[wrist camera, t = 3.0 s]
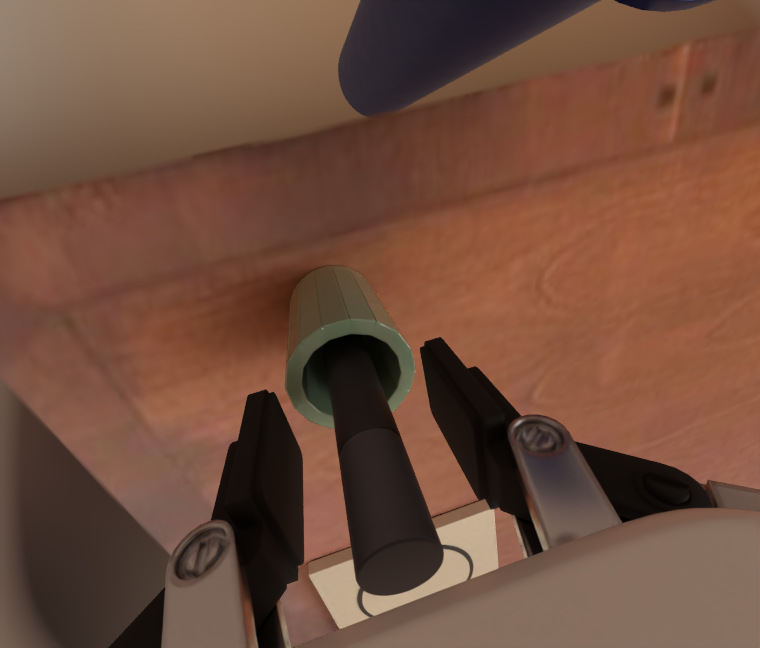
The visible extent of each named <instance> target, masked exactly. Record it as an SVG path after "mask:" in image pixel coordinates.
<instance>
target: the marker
mask: <svg viewBox="0 0 760 648" xmlns="http://www.w3.org/2000/svg"><path fill="white" fill-rule="evenodd" d="M323 348H324V355H325V362H326V370H327V377H328V384H329V391H330V398H331V406H332V413H333V420H334V427H335V434H336V441H337V449H338V456H339V463H340V470H341V477H342V485H343V492H344V499H345V506H346V513H347V520H348V528H349V535H350V542H351V549H352V556H353V564H354V571H355V578H356V582H357V584H358V585H359V587H360V588H361V589H362V590H363V591H365V592H366V593H369V594H372V595H377V596H389V595H396V594H400V593H404V592H407V591H410V590H412V589H414V588H416V587H418V586H420V585H422V584H423V583H425V582H426V581H428V580H429V579H430V578H431V577H433V576H434V575H435V574H436V572H437V571H438V570H439V568H440V567H441V565H442V563H443V559H444V550H443V547H442V544H441V541H440V539H439V536H438V534H437V531H436V528H435V526H434V523H433V520H432V518H431V515H430V512H429V510H428V507H427V505H426V502H425V499H424V497H423V494H422V491H421V489H420V486H419V483H418V481H417V478H416V476H415V473H414V470H413V468H412V465H411V462H410V460H409V457H408V454H407V452H406V449H405V446H404V444H403V441H402V439H401V436H400V433H399V431H398V428H397V425H396V423H395V420H394V417H393V415H392V412H391V410H390V407H389V404H388V402H387V399H386V396H385V394H384V391H383V388H382V386H381V383H380V381H379V378H378V375H377V373H376V370H375V367H374V365H373V362H372V359H371V357H370V354H369V352H368V349H367V346H366V344H365V341H364V338H363V336H362V335H360V334H349V335H345V336H342V337H338V338H335V339H332V340H329V341H327V342H326V343H325V344H323Z"/></svg>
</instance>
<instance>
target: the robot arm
mask: <svg viewBox="0 0 760 648" xmlns="http://www.w3.org/2000/svg"><path fill="white" fill-rule="evenodd" d="M420 353H421V358H422V364H423V370H424V375H425V381H426V386H427V392H428V398H429V403H430V408H431V412H432V414H433V417H434V419H435V420H436V422H437V424H438V426H439V428H440V430H441V432H442V433H443V435H444V437H445V439H446V441H447V443H448V445H449V446H450V448H451V450H452V452H453V454H454V456H455V458H456V459H457V461H458V463H459V465H460V467H461V469H462V470H463V472H464V474H465V476H466V478H467V480H468V482H469V483H470V485H471V487H472V489H473V491H474V493H475V495H476V496H477V498H478V499H479V500H483V499H485V500H486V502H487V504H488V506H489V507H490V509H491V510H492V509H495V508H498V507H499V508H500V509H501V511H504V512H506V513H509V514H511V516H512V519H513V522H514V525H515V529H516V532H517V535H518V539H519V542H520V545H521V549H522V552H523V555H524V558H525V559H522V560H520V561H517V562H514V563H512V564H509V565H507V566H504V567H501V568H499V569H496V570H493V571H491V572H488V573H485V574H483V575H480V576H477V577H475V578H472V579H469V580H467V581H464V582H462V583H459V584H456V585H454V586H451V587H449V588H446V589H443V590H441V591H438V592H435V593H433V594H430V595H428V596H425V597H422V598H420V599H417V600H415V601H412V602H409V603H407V604H404V605H402V606H399V607H396V608H394V609H391V610H389V611H386V612H383V613H381V614H378V615H376V616H373V617H370V618H368V619H365V620H363V621H360V622H357V623H355V624H352V625H350V626H347V627H344V628H342V629H339V630H337V631H334V632H332V633H329V634H326V635H324V636H321V637H319V638H316V639H314V640H311V641H309V642H306V643H303V644H301V645H298V646H296V647H293V648H760V490H759V489H754V488H748V487H743V486H738V485H732V484H727V483H722V482H717V481H711V480H708V481H707V484H706V485H705V484H700V483H698V482H697V481H696V480H694V479H693V478H692V477H691V476H689V475H688V474H686V473H684V472H682V471H680V470H678V469H677V468H674V467H671V466H668V465H665V464H662V463H658V462H654V461H650V460H646V459H642V458H638V457H634V456H630V455H626V454H622V453H618V452H614V451H610V450H607V449H603V448H599V447H595V446H591V445H587V444H583V443H579V442H575V441H574V440H573V438H572V437H571V435H570V433H569V432H568V430H567V429H566V428H565V427H564V426H563V425H562V424H561V423H559V422H558V421H556V420H554V419H552V418H550V417H547V416H542V415H525V416H521V415H520V414H519V413H518V412H517V411H516V410H515V409H514V407H513V406H512V405H511V404H510V403H509V402H508V401H507V400H506V398H505V397H504V396H503V395H502V394H501V393H500V392H499V391H498V390H497V388H496V387H495V386H494V385H493V384H492V383H491V382H490V381H489V379H488V378H487V377H486V376H485V375H484V374H483V373H482V372H481V370H480V369H479V368H477V367H475V366H474V367H471V368H468V369H467V368H466V366H465V365H464V364H463V363H462V362H461V360H460V359H459V358H458V357H457V356H456V354H455V353H454V352H453V351H452V350H451V348H450V347H449V346H448V345H447V344H446V343H445V341H444V340H443V339H442V338H441V337H439V338H435V339H432V340H429V341H425V343H424V346H423V347H420ZM303 563H304V515H303V458H302V453H301V450H300V447H299V445H298V443H297V441H296V438H295V436H294V434H293V432H292V430H291V427H290V425H289V423H288V421H287V418H286V416H285V414H284V412H283V410H282V407H281V405H280V403H279V401H278V398H277V396H276V394H275V393H274V392H271V393H269V392H268V391H267V390H263V391H259V392H256V393H253V394H249V395H248V397H247V401H246V406H245V410H244V415H243V419H242V424H241V428H240V433H239V437H238V441H236V442H232V443H231V444H230V446H229V449H228V453H227V457H226V461H225V465H224V469H223V473H222V477H221V481H220V485H219V489H218V494H217V498H216V502H215V506H214V510H213V514H212V518H211V521H208V522H206V523H204V524H201V525H200V526H198V527H197V528H195V529H194V530H192V531H191V532H190V533H189V534H188V535H187V536H186V537H185V538H183V539H182V540H181V542H180V543H179V544H178V546H177V547H176V548H175V550H174V551H173V554H172V556H171V558H170V560H169V562H168V567H167V571H166V585H165V588H164V589H163V590H162V591H161V592H160V593H159V594H158V595H157V596H156V597H155V599H153V601H152V602H151V603H150V604H149V605H148V606H147V607H146V608H145V609H144V610H143V611H142V612H141V614H139V616H138V617H137V618H136V619H135V620H134V621H133V622H132V623H131V624H130V625H129V626H128V627H127V628H126V629H125V631H124V632H123V633H122V634H121V635H120V636H119V637H118V638H117V639H116V640H115V641H114V642H113V644H111V646H110V647H109V648H291V645H290V640H289V636H288V631H287V626H286V622H285V617H284V613H283V608H282V604H281V600H280V598H281V596H282V595H283V593H284V592H285V590H286V589H287V584H289V583H292V582H294V581H297V580H298V566H299V565H302V564H303Z"/></svg>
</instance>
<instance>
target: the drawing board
mask: <svg viewBox="0 0 760 648" xmlns="http://www.w3.org/2000/svg"><path fill="white" fill-rule="evenodd" d="M432 520H433V523H434V526H435V528H436V531H437V534H438V536H439V539H440V541H441V544H442V547H443V550H444V559H443V563H442V565H441V567H440V568H439V570H438V571H437V572H436V574H435V575H434V576H433V577H431V578H430V579H429V580H428V581H426V582H425V583H423V584H422V585H420V586H418V587H416V588H414V589H412V590H410V591H407V592H404V593H400V594H396V595H389V596H377V595H372V594H369V593H366V592H365V591H363V590H362V589H361V588H360V587H359V585H358V584H357V582H356V578H355V571H354V564H353V556H352V549H351V547H350V548H348V549H345V550H342V551H339V552H336V553H334V554H331V555H328V556H325V557H323V558H320V559H317V560H314V561H311V562H309V563H308V575H309V577H310V579H311V581H312V582H313V584H314V586H315V588H316V589H317V591H318V593H319V595H320V596H321V598H322V600H323V601H324V603H325V605H326V607H327V608H328V610H329V612H330V614H331V615H332V617H333V619H334V620H335V622H336V624H337V626H338V627H339V629H342V628H344V627H347V626H350V625H352V624H355V623H357V622H360V621H363V620H365V619H368V618H370V617H373V616H376V615H378V614H381V613H383V612H386V611H389V610H391V609H394V608H396V607H399V606H402V605H404V604H407V603H409V602H412V601H415V600H417V599H420V598H422V597H425V596H428V595H430V594H433V593H435V592H438V591H441V590H443V589H446V588H449V587H451V586H454V585H456V584H459V583H462V582H464V581H467V580H469V579H472V578H475V577H477V576H480V575H483V574H485V573H488V572H491V571H493V570H496V569H498V556H497V543H496V529H495V516H494V509H492V510H491V509H490V507H489V506H488V504H487V502H486V500H485V499H484V500H481V501H478V502H476V503H473V504H470V505H467V506H464V507H462V508H459V509H456V510H453V511H450V512H448V513H445V514H442V515H439V516H437V517H434V518H432Z"/></svg>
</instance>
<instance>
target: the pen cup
mask: <svg viewBox="0 0 760 648" xmlns="http://www.w3.org/2000/svg"><path fill="white" fill-rule="evenodd" d="M349 334H360V335H362V336H363V338H364V341H365V344H366V346H367V349H368V352H369V354H370V357H371V359H372V362H373V365H374V367H375V370H376V373H377V375H378V378H379V381H380V383H381V386H382V388H383V391H384V394H385V396H386V399H387V402H388V404H389V407H390V410H391V412H393V411H394V410H396V409H397V408H398V407H399V405H400V404H401V402H402V401H403V400H404V398H405V397H406V396H407V394H408V393H409V391H410V389H411V385H412V381H413V378H414V374H415V363H414V358H413V353H412V349H411V347H410V346H409V344H408V342H407V341H406V339H405V337H404V336H403V334H402V333H401V331H400V329H399V328H398V326H397V325H396V323H395V321H394V320H393V318H392V317H391V315H390V313H389V312H388V310H387V308H386V307H385V305H384V304H383V302H382V300H381V299H380V297H379V296H378V294H377V292H376V291H375V290H374V288H373V287H372V285H371V284H370V282H369V281H368V280H367V279H366V278H365V277H364V276H363V275H362V274H360V273H359V272H357V271H355V270H353V269H351V268H348V267H343V266H326V267H322V268H319V269H316V270H314V271H312V272H310V273H309V274H307V275H306V276H305V277H304V278H302V279H301V280H300V282H299V283H298V284H297V286H296V287H295V289H294V291H293V293H292V296H291V300H290V309H289V323H288V339H287V356H286V372H285V389H286V392H287V394H288V396H289V399H290V401H291V403H292V406H293V407H294V408H295V409H296V410H297V411H298V412H299V413H300V414H302V415H303V416H304V417H305V418H306V419H307V420H309V421H311V422H312V423H315V424H318V425H321V426H324V427H327V428H330V429H335V427H334V420H333V413H332V406H331V398H330V391H329V384H328V377H327V370H326V362H325V355H324V348H323V344H325V343H326V342H327V341H329V340H332V339H335V338H338V337H342V336H345V335H349Z"/></svg>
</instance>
